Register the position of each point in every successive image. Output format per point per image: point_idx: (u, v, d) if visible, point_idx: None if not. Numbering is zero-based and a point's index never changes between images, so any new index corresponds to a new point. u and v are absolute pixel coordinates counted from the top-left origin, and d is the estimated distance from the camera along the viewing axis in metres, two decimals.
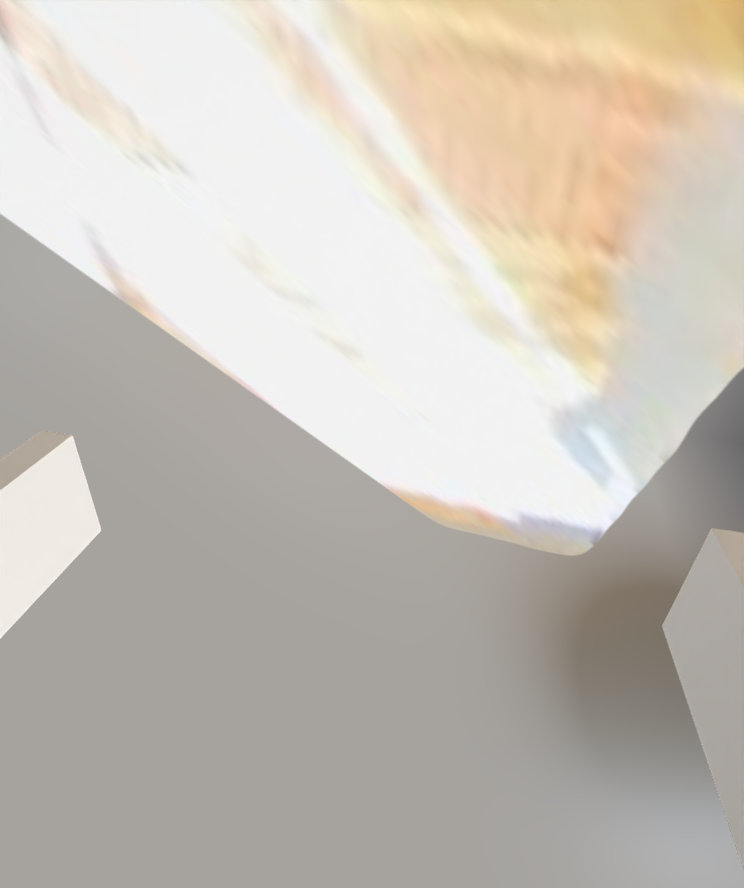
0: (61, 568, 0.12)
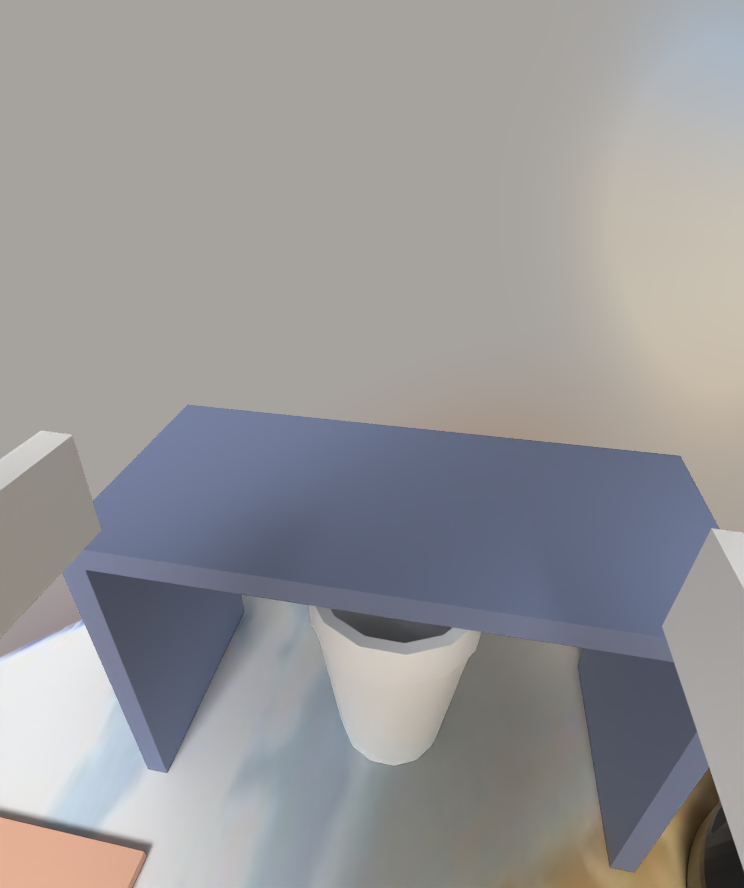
0: (61, 568, 0.12)
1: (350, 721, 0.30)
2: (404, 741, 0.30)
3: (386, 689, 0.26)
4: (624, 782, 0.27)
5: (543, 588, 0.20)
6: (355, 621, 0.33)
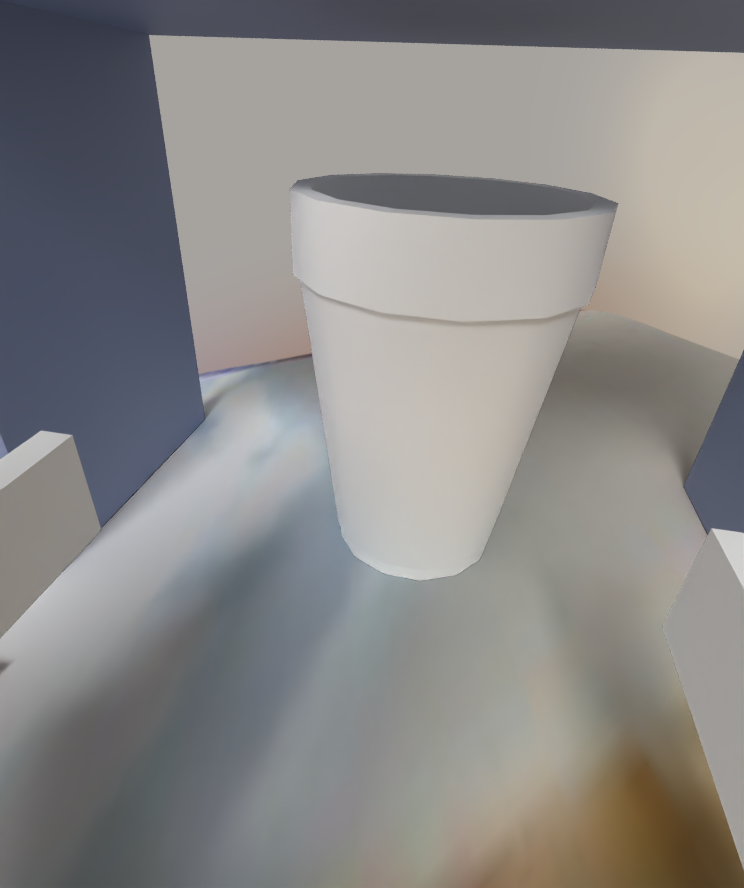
0: (61, 568, 0.12)
1: (354, 489, 0.19)
2: (443, 518, 0.18)
3: (428, 353, 0.14)
4: None
5: None
6: None
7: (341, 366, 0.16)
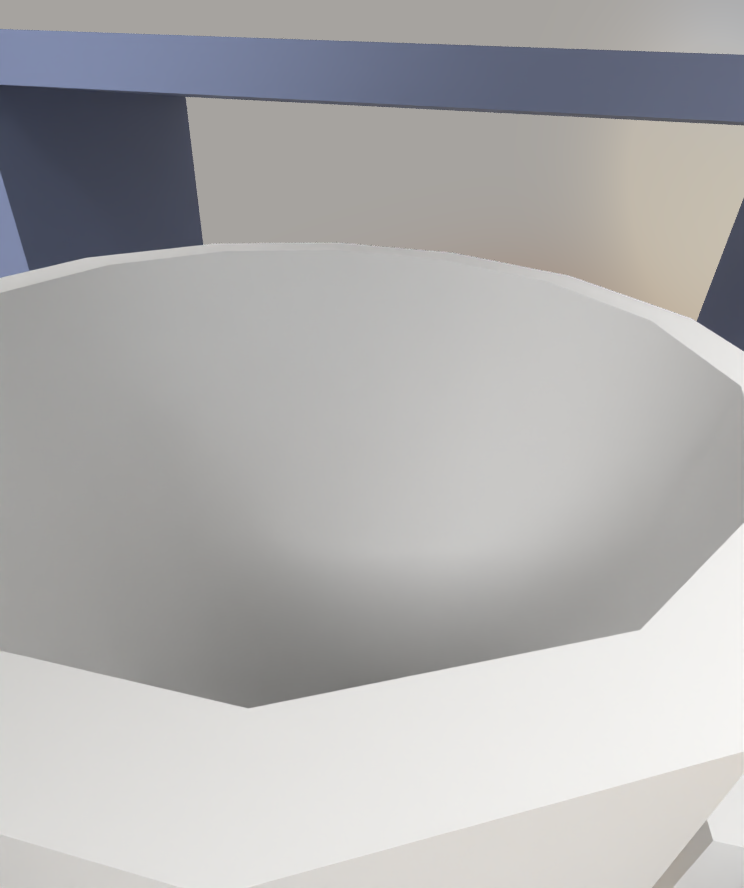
0: None
1: None
2: None
3: None
4: None
5: None
6: (224, 597, 0.11)
7: None
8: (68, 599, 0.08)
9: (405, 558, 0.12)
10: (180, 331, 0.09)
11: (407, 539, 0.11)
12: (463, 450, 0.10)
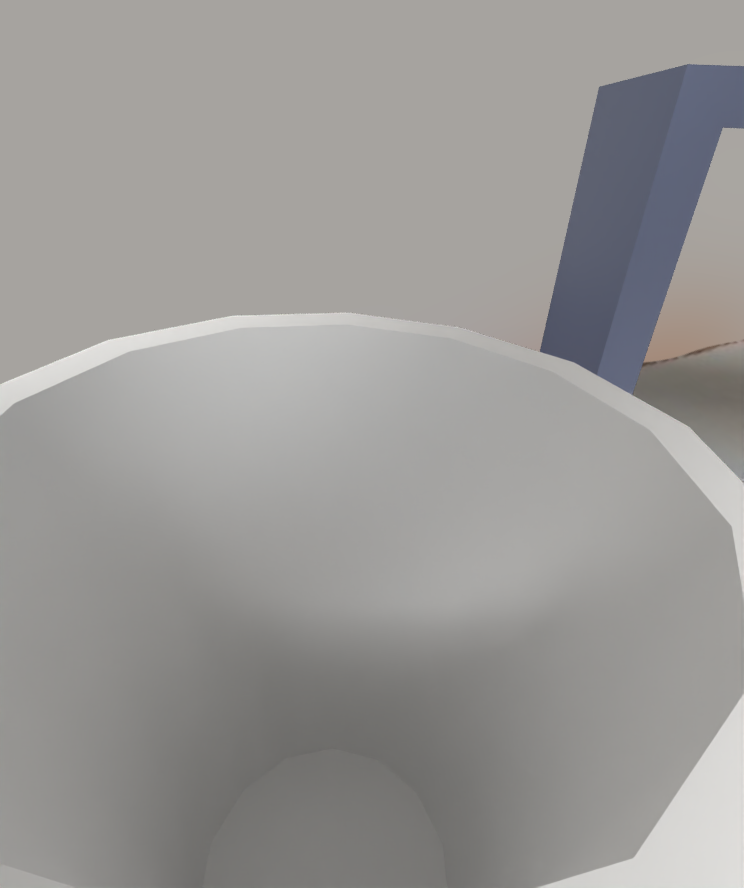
0: None
1: None
2: None
3: None
4: None
5: None
6: (232, 642, 0.12)
7: None
8: (90, 670, 0.08)
9: (407, 605, 0.12)
10: (196, 404, 0.09)
11: (409, 588, 0.12)
12: (466, 514, 0.10)
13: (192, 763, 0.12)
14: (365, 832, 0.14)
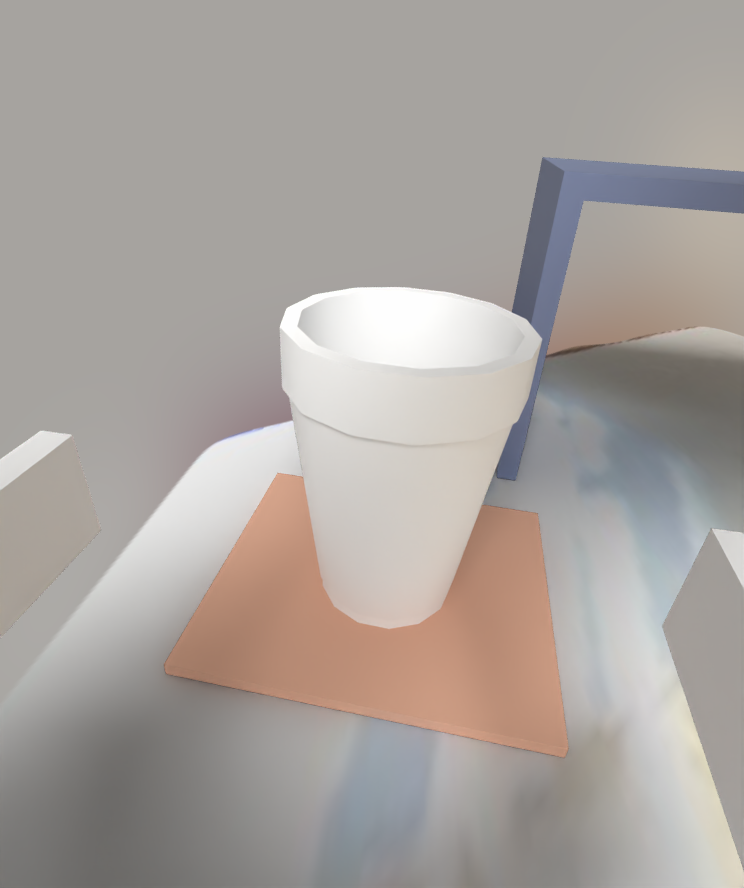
0: (61, 568, 0.12)
1: (332, 555, 0.22)
2: (406, 581, 0.22)
3: (388, 463, 0.18)
4: None
5: None
6: None
7: (320, 464, 0.19)
8: None
9: None
10: (343, 322, 0.23)
11: None
12: None
13: None
14: None
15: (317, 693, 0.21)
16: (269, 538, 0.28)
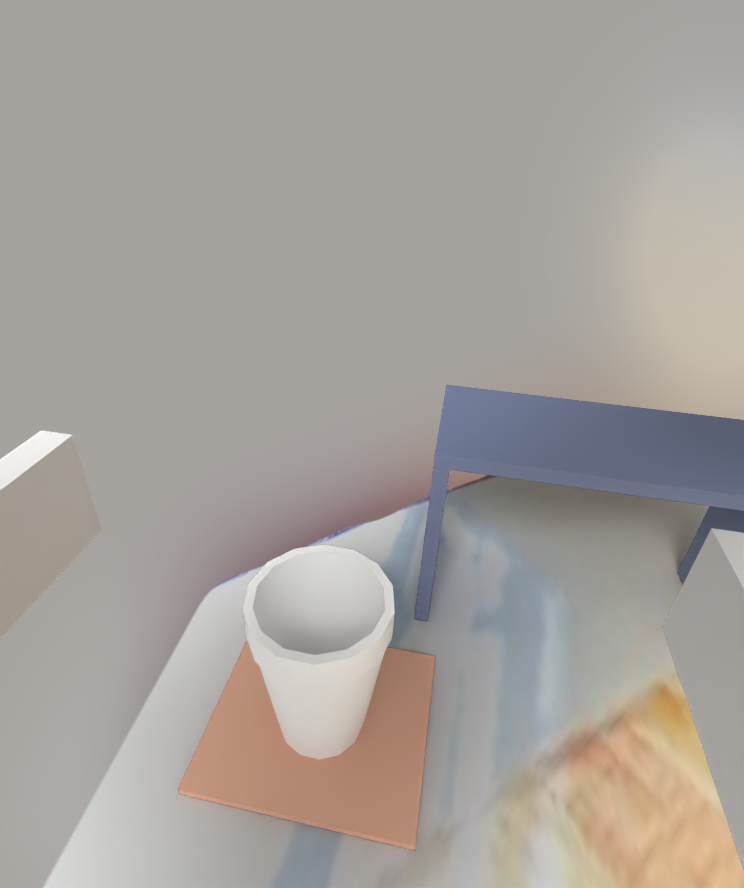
0: (61, 568, 0.12)
1: (280, 720, 0.36)
2: (325, 738, 0.35)
3: (303, 692, 0.31)
4: None
5: (712, 480, 0.38)
6: (292, 634, 0.39)
7: (268, 682, 0.33)
8: None
9: (345, 623, 0.39)
10: (286, 573, 0.36)
11: (345, 617, 0.39)
12: (358, 598, 0.37)
13: None
14: None
15: (270, 809, 0.35)
16: (247, 684, 0.42)
